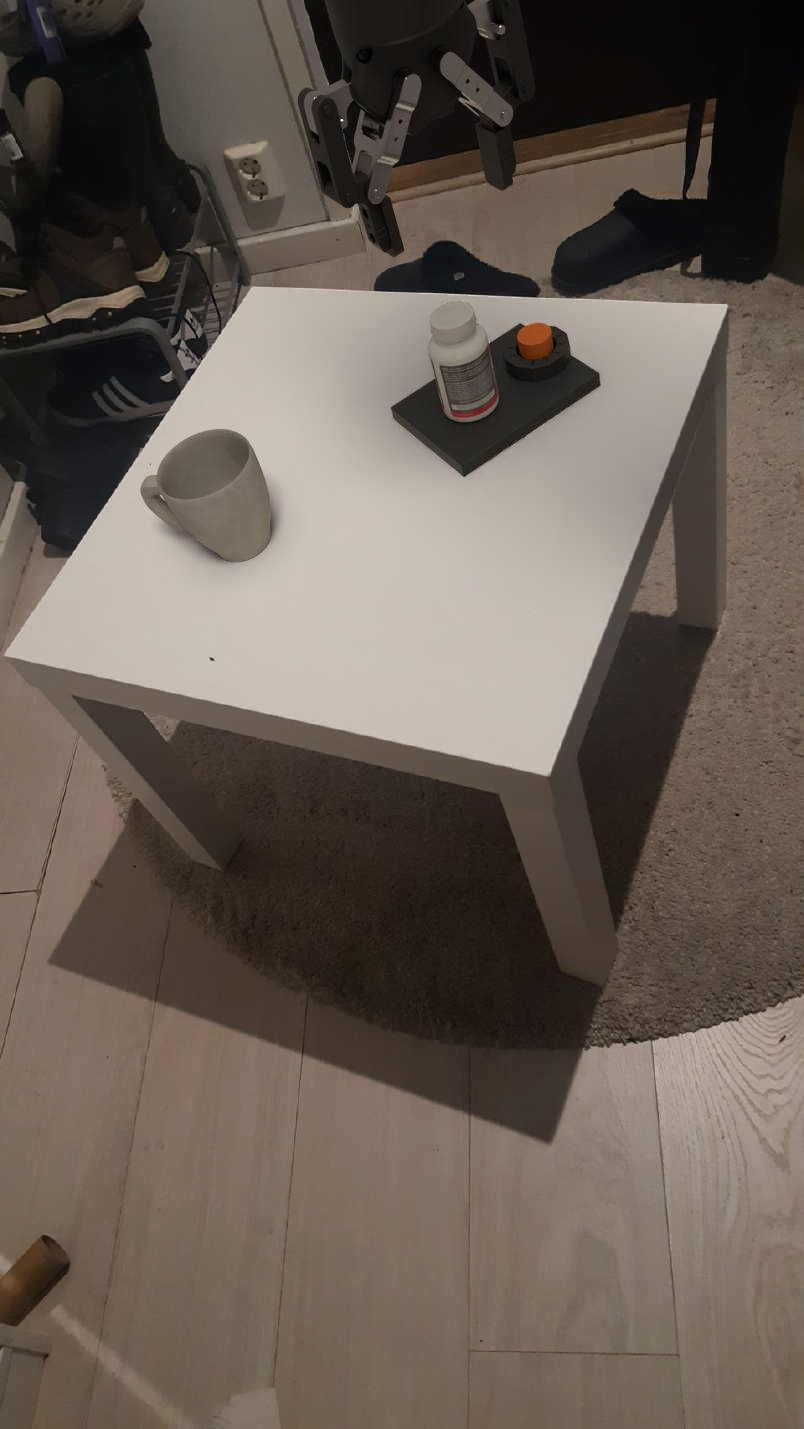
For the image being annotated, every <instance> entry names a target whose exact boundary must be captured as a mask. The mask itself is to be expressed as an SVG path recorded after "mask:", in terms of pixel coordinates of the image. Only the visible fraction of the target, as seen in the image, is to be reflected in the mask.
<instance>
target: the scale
mask: <svg viewBox="0 0 804 1429" xmlns="http://www.w3.org/2000/svg"><path fill="white" fill-rule="evenodd" d="M525 326H526V325H525V324H524V323H522V322H519V323H518V324H516V325H515V326H513V327H512V328H510V329H509V330H507V331H506V332H504V333H502V334H501V335H500V336H498V337H496V338H495V339H493V340H492V341H490V342H489V348H490V353H491V358H492V363H493V368H494V373H495V379H496V383H497V389H498V394H499V401H498V404H497V406H496V408H495V409H494V410H493V411H492V412H491V413H490V414H489V415H488V416H486V417H484V418H482V419H480V420H477V421H473V422H457V421H454V420H452V419H450V418H448V417H447V416H446V414H445V413H444V410H443V407H442V404H441V400H440V396H439V392H438V389H437V385H436V381H435V378H433V379H432V380H430V381H428V382H427V383H426V384H424V385H423V386H421V387H420V388H418V389H416V390H415V391H413V392H411V393H410V394H409V395H407V396H405V397H403V399H401V400H400V401H398V402H396V403H395V404H394V405H392V406H390V410H391V415H392V418H393V419H394V420H395V421H396V422H398V424H400V425H402V427H403V428H405V430H407V431H408V432H410V434H412V435H413V436H414V437H415V438H417V439H418V440H419V441H420V442H422V444H424V445H425V446H426V447H427V448H429V449H430V450H431V451H432V452H434V453H435V454H436V455H438V457H440V459H442V460H443V461H444V462H446V463H447V464H449V466H451V468H453V469H454V470H455V471H457V472H458V473H459V474H460V475H462V476H463V477H466V476H467V475H469V474H471V473H472V472H474V471H475V470H477V469H478V468H480V467H481V466H483V465H484V464H485V463H487V462H488V461H490V460H491V459H493V458H494V457H496V456H497V455H499V454H500V453H501V452H503V451H505V450H506V449H508V448H509V447H511V446H512V445H514V444H516V443H517V442H518V441H520V440H521V439H523V438H524V437H525V436H527V435H529V434H530V433H532V432H533V431H534V430H536V429H538V428H539V427H540V426H542V425H543V424H545V423H546V422H548V421H549V420H551V419H553V418H554V417H555V416H557V415H558V414H560V413H561V412H563V411H564V410H566V409H567V408H569V407H570V406H572V405H573V404H574V403H576V402H578V401H579V400H581V399H582V398H584V397H585V396H586V395H588V394H590V393H591V392H592V391H594V390H596V389H597V388H598V387H600V386H601V374H600V372H598V371H597V370H596V369H594V368H592V367H590V366H589V365H587V364H586V363H585V362H583V361H581V360H580V359H579V358H577V357H575V356H574V355H572V353H571V352H572V351H571V344H570V343H571V342H570V340H569V336H568V333H567V332H566V331H564V330H563V329H561V328H559V327H558V326H555V325H548V326H549V327H550V328H551V331H552V339H553V350H552V352H551V353H550V354H548V355H547V356H545V357H543V358H538V359H534V360H531V359H524V358H523V357H522V356H521V355H520V352H519V346H518V340H517V335H518V332H519V331H520V330H521V329H522V328H523V327H525Z"/></svg>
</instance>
